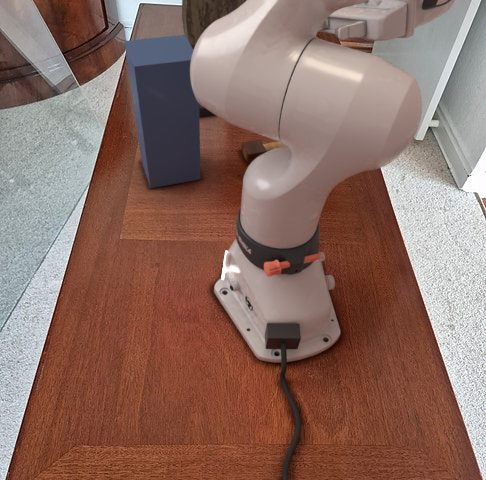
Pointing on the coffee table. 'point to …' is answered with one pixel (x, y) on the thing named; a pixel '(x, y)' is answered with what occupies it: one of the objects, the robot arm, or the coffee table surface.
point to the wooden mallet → (257, 149)
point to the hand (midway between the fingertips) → (320, 31)
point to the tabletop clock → (204, 15)
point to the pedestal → (165, 109)
